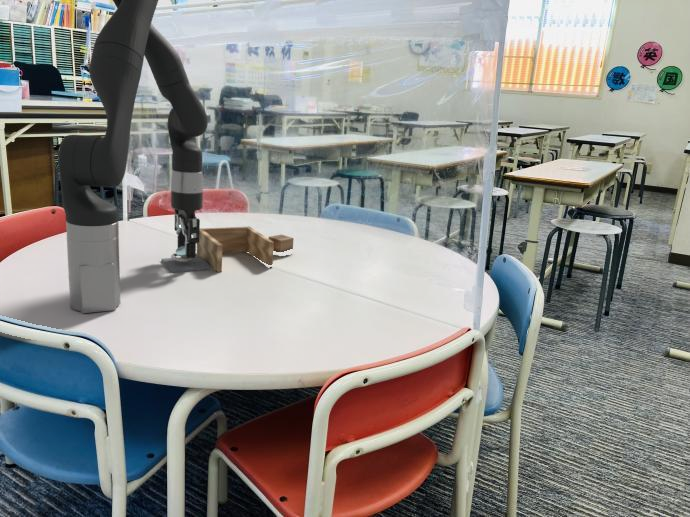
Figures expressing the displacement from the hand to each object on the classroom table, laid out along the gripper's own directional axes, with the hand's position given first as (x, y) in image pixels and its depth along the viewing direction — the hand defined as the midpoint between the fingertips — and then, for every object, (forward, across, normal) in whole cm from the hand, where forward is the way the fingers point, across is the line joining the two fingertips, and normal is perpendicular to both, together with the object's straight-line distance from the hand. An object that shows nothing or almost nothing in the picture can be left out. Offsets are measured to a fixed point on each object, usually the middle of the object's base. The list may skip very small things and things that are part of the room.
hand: (186, 253), depth 139 cm
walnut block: (+3, +4, -28) cm, 29 cm away
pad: (+3, 0, 0) cm, 3 cm away
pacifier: (+2, 0, +1) cm, 2 cm away
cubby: (+3, +1, -13) cm, 14 cm away
